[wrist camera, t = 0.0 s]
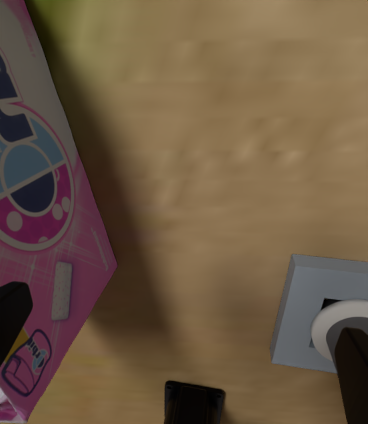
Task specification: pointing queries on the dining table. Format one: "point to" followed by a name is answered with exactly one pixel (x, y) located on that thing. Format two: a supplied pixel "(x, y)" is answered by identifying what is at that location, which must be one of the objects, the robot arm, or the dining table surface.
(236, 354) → the dining table surface
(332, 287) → the socket block
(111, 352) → the dining table surface
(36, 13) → the dining table surface
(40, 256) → the gum box
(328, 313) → the plug
